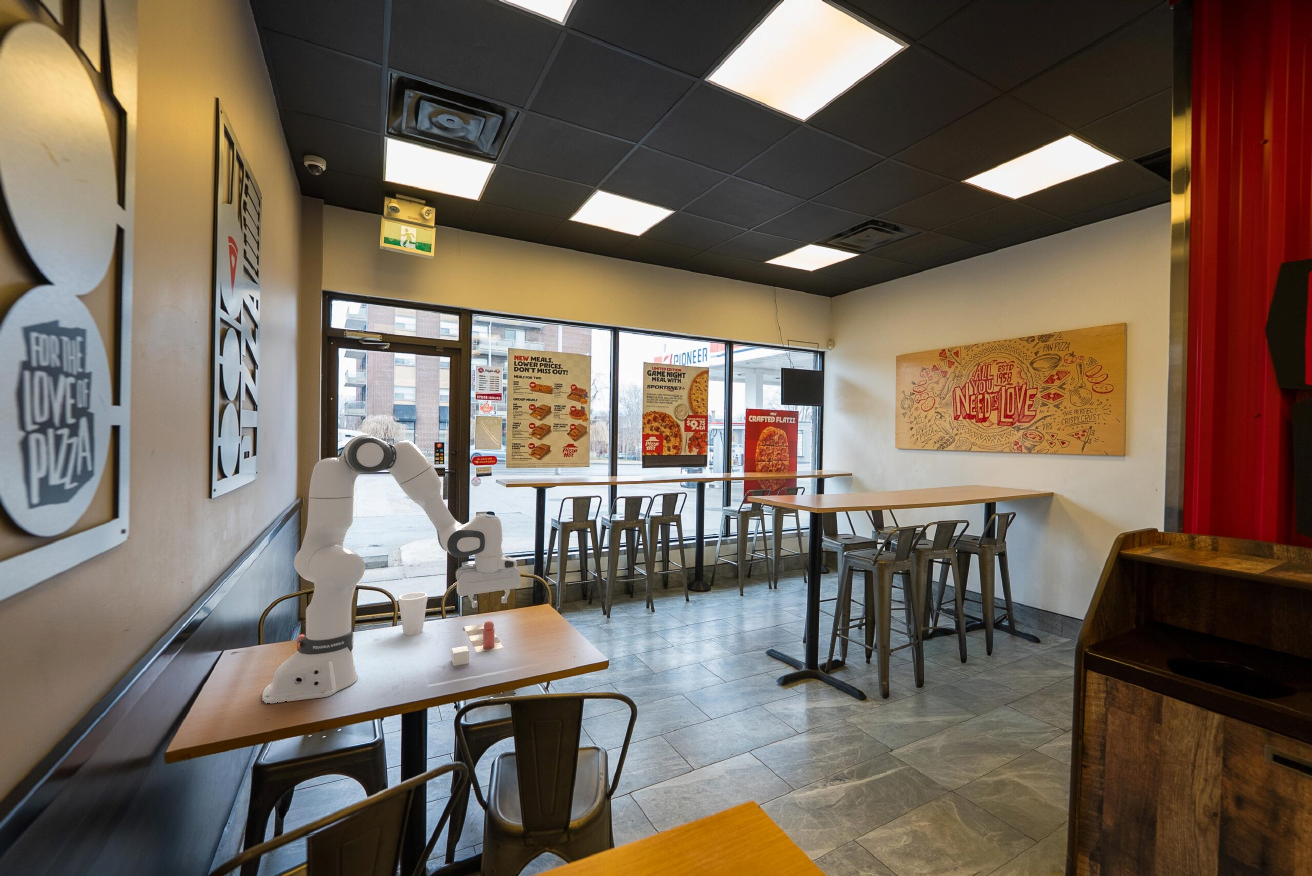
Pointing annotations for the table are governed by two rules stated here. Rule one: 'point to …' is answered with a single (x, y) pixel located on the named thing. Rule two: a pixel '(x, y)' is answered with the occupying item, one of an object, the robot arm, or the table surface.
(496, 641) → the board
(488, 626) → the red bottle
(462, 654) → the white cube
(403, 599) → the foam cup
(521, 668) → the table surface
